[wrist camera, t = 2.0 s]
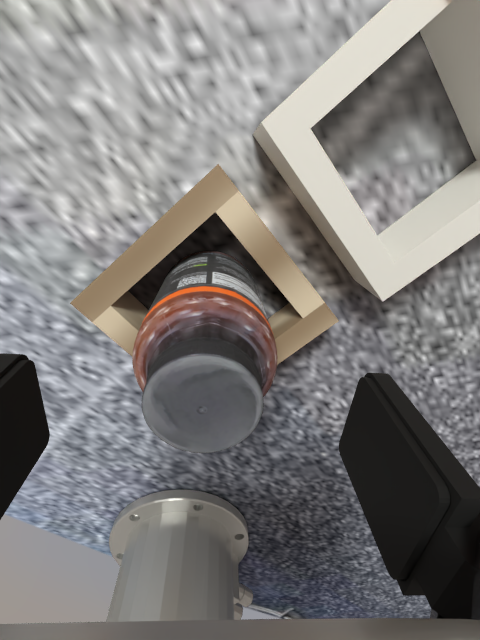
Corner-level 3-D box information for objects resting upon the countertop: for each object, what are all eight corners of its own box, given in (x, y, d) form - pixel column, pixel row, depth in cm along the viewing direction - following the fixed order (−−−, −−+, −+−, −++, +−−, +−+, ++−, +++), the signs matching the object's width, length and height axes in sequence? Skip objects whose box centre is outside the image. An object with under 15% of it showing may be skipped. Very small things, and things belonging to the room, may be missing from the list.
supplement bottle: (208, 351, 22) (197, 500, 12) (144, 290, 20) (64, 408, 10) (275, 297, 21) (328, 414, 11) (213, 227, 19) (204, 286, 9)
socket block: (510, 164, 18) (596, 160, 14) (354, 279, 21) (388, 305, 16) (431, -34, 15) (516, -119, 10) (252, 134, 17) (262, 120, 13)
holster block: (323, 302, 21) (338, 320, 18) (205, 389, 24) (203, 417, 21) (218, 166, 18) (218, 163, 15) (90, 285, 20) (70, 303, 17)
